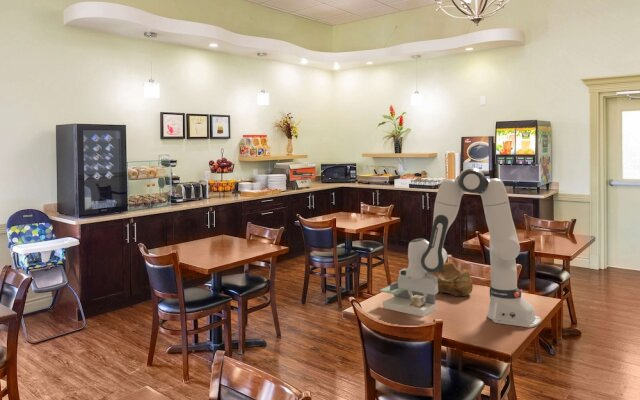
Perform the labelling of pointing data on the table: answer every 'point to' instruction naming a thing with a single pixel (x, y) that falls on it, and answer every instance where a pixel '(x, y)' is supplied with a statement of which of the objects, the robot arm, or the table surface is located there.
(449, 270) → the rough brown rock
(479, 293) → the table surface
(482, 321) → the table surface
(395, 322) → the table surface
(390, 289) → the slide lid
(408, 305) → the puzzle board
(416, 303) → the birch block
